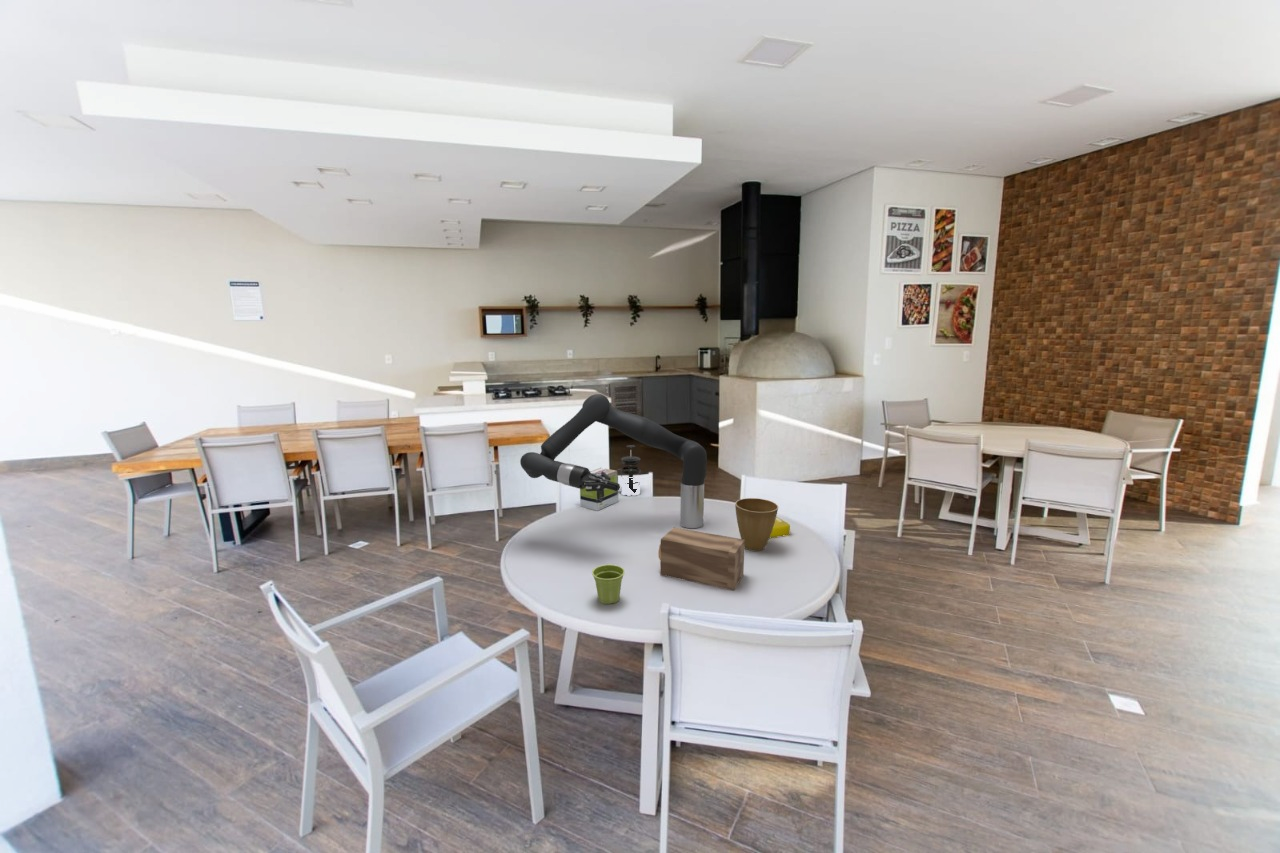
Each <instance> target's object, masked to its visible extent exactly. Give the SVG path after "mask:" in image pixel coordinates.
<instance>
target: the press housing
mask: <svg viewBox="0 0 1280 853" xmlns="http://www.w3.org/2000/svg"><path fill="white" fill-rule="evenodd" d="M660 544H661V557H660V559H659V561H660V562H659V563H660V568H659V570H660V576H665V577H671V578H673V579H678V580H684V581H688V582H693V583H698V584H703V585H705V586H706V585H707V586H710V587H711V586H712V587H716V588H721V589H724V590H729V591H734V590H735V589H736V588H737V586H738V584H739V583H740V581H741V579H742V578H743V577H744V567H745V540H744V539H741V538H737V537H731V536H725V535H720V534H715V533H710V532H703V531H699V530H698V531H696V530H692V529H687V528H686V529H685V528H679V527H673V528H671V529H670V530H669V531H668V532H667V533H666V534H664V536H662V538H660Z"/></svg>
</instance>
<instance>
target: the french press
mask: <svg viewBox="0 0 1280 853" xmlns="http://www.w3.org/2000/svg"><path fill="white" fill-rule="evenodd" d="M626 448H629V450H630V452H629V453H630V455H628V456H622V457H621V458H620V460H621V463H622V465H626V466H622V467H621V468H617V469H616V471H617V473H618V474H619V471H620V472H621V473H620V474H621V475H620V477H622V478H623V474H627V475H628V478H629V477H633V478H634V475H635V474H640V473H641V467H639V466H636V465H638V463H639V462H640V460H641V458H640V457H638V456H633V455H632V451H633V450H632V449H633V448H636V445H634V444H633V445H631V444H630V445H629V444H628V445H626ZM633 478H629V483H627V484H629V488H630V489H631V490H632V491H633V492H634V493H635V492H636V490H637V489H633V484H639V482H635V483H633V480H631V479H633Z"/></svg>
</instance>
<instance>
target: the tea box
mask: <svg viewBox="0 0 1280 853" xmlns="http://www.w3.org/2000/svg"><path fill="white" fill-rule="evenodd" d="M589 471H590V473H595V474H597V475H601V472H604V473H605V474H607V475H608V476H609V477H610V478H611V480H610V481H611V482H615V483H619V472H618V473H617V469H616V470H615V469H610V468H609V469H608V468H603V467H599V468H596V469H593V470H589ZM579 497H580V498H579V499H580V507H581V508H584V509H588V510H592V511H596V512H597V511H600V510H602V509H604V508H607V507H609V506H611V505H613V504H616V503H618V502H619V490H618V491H614V490H611V489H603V491H586V487H585V488H584V489H579Z"/></svg>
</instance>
